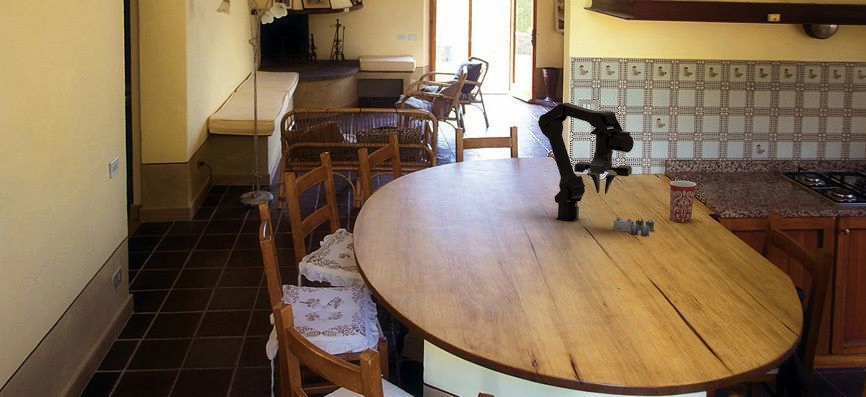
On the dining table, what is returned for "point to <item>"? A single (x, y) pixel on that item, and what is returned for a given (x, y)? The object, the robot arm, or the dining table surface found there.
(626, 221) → the block with round pegs
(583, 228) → the dining table surface
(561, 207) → the robot arm
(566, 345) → the dining table surface
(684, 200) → the mug
